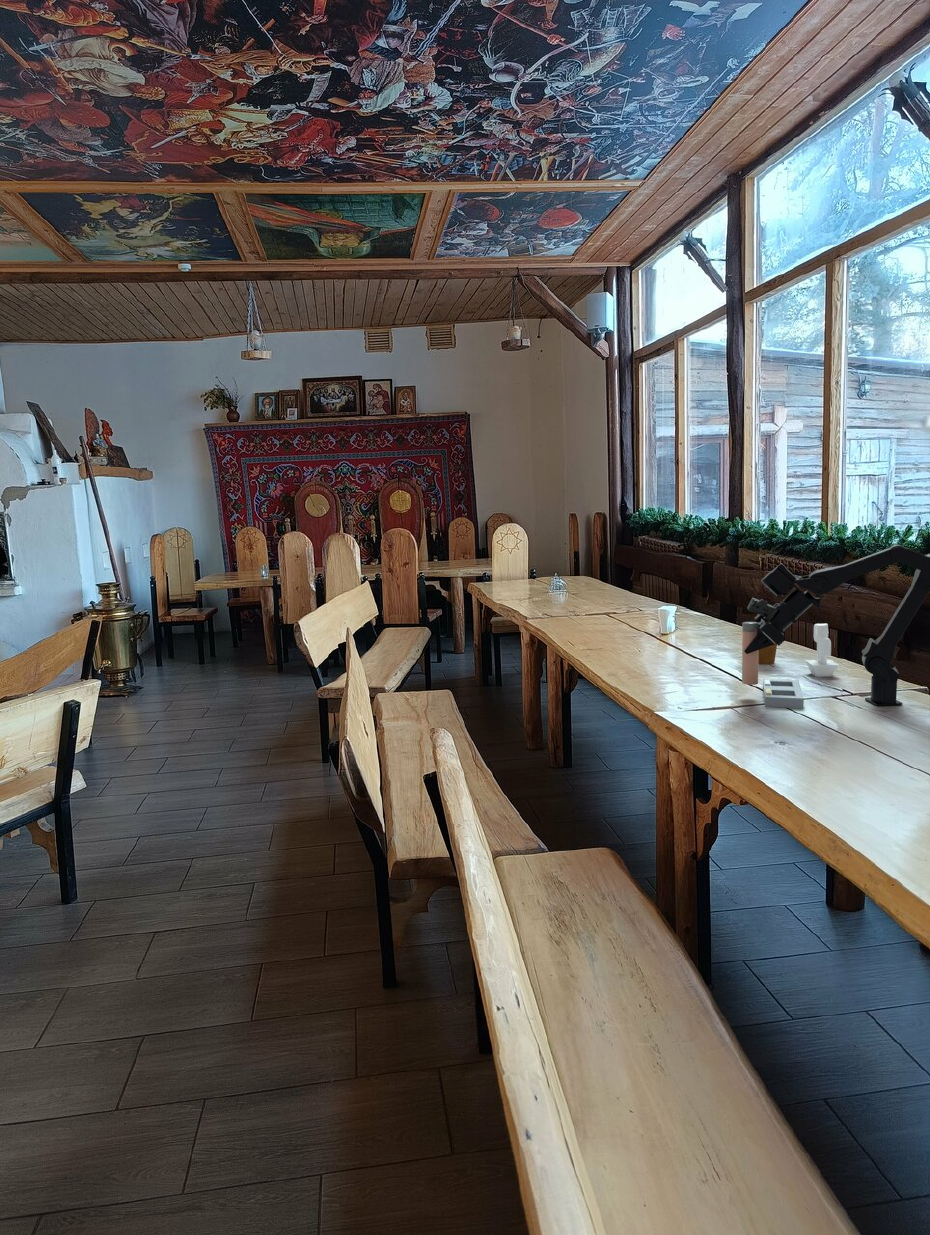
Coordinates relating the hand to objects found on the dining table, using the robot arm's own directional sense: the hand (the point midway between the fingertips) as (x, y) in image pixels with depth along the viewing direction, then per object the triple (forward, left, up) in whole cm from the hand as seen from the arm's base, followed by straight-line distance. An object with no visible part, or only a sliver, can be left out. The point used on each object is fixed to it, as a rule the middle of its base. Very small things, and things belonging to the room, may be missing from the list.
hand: (744, 651), depth 210 cm
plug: (0, -1, -9) cm, 9 cm away
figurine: (+22, -29, -13) cm, 39 cm away
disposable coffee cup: (+41, -19, -13) cm, 47 cm away
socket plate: (-2, -9, -12) cm, 16 cm away
